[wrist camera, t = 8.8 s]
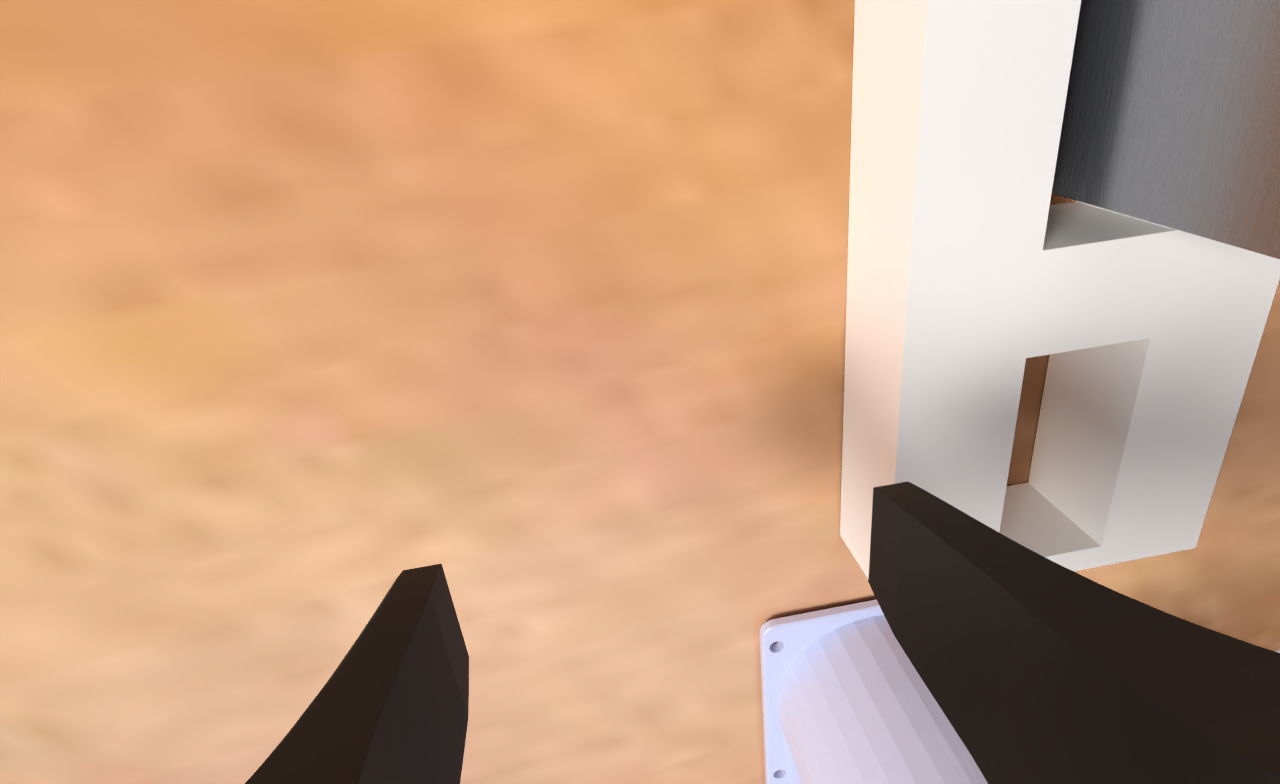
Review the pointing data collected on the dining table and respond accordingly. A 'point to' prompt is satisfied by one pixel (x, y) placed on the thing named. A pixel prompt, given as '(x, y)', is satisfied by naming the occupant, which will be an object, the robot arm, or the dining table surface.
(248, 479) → the dining table surface
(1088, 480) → the white board with holes
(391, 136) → the dining table surface
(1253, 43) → the gray rectangular block
